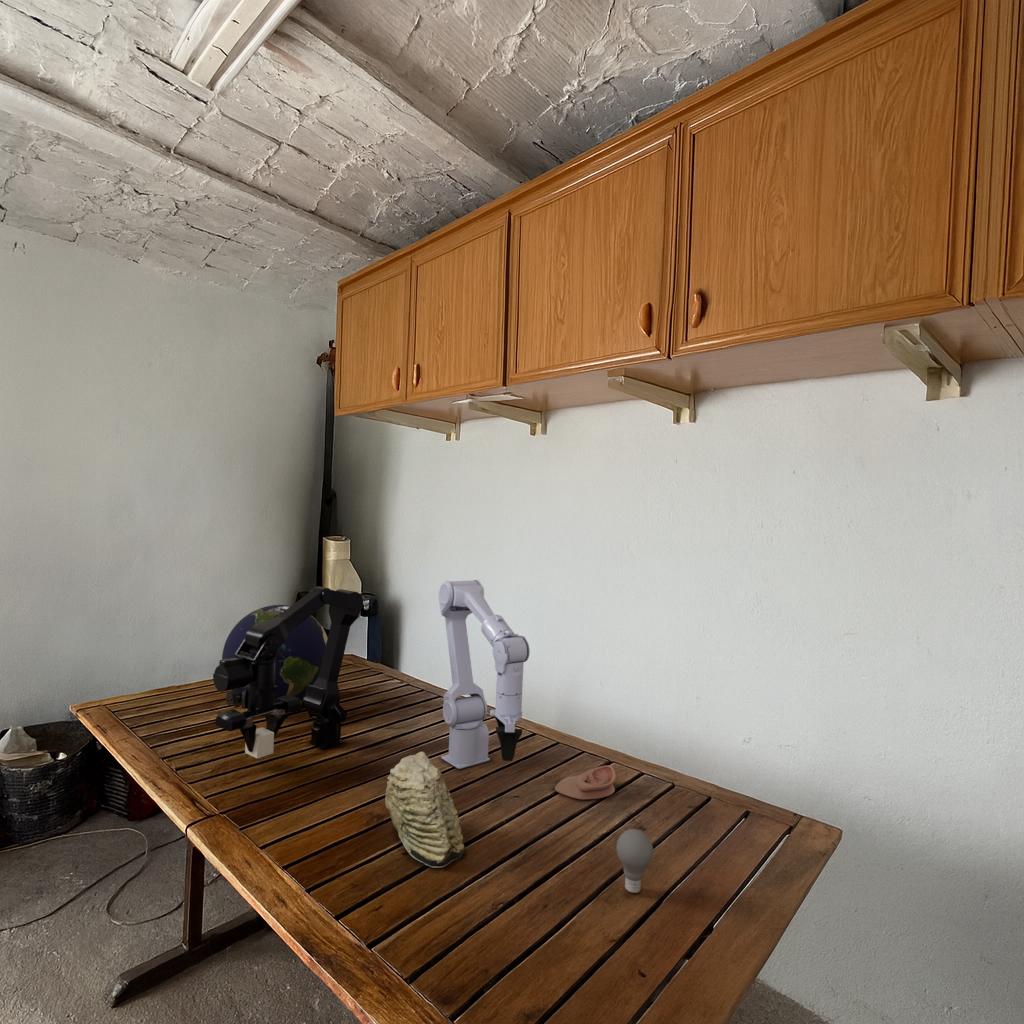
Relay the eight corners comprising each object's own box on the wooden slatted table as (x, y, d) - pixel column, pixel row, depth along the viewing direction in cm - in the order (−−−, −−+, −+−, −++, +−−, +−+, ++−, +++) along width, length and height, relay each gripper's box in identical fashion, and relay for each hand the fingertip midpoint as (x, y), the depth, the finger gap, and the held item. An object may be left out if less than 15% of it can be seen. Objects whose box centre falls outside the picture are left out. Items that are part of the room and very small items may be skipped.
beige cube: (261, 747, 149) (262, 727, 149) (273, 753, 146) (274, 732, 146) (245, 752, 146) (245, 731, 146) (257, 758, 143) (257, 737, 143)
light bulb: (610, 879, 108) (613, 822, 108) (644, 879, 109) (647, 822, 109) (619, 902, 102) (622, 840, 102) (655, 901, 103) (658, 840, 103)
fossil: (411, 815, 127) (414, 741, 127) (473, 855, 114) (476, 772, 114) (373, 831, 121) (376, 753, 120) (434, 874, 108) (437, 787, 107)
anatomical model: (553, 777, 138) (560, 757, 150) (552, 795, 138) (559, 774, 150) (614, 786, 136) (616, 764, 147) (613, 804, 136) (616, 781, 147)
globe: (289, 685, 209) (292, 594, 208) (348, 705, 191) (352, 606, 191) (199, 706, 185) (203, 604, 184) (258, 732, 167) (262, 619, 167)
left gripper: (276, 667, 158) (275, 728, 158) (203, 683, 143) (201, 751, 143) (304, 675, 152) (302, 740, 152) (230, 693, 136) (228, 765, 137)
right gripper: (490, 681, 146) (487, 740, 146) (491, 701, 132) (489, 766, 132) (520, 682, 147) (518, 740, 147) (525, 702, 132) (522, 767, 132)
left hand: (259, 748), depth 146 cm, fingers closed on beige cube, 4 cm apart
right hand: (506, 753), depth 139 cm, fingers open, 7 cm apart
